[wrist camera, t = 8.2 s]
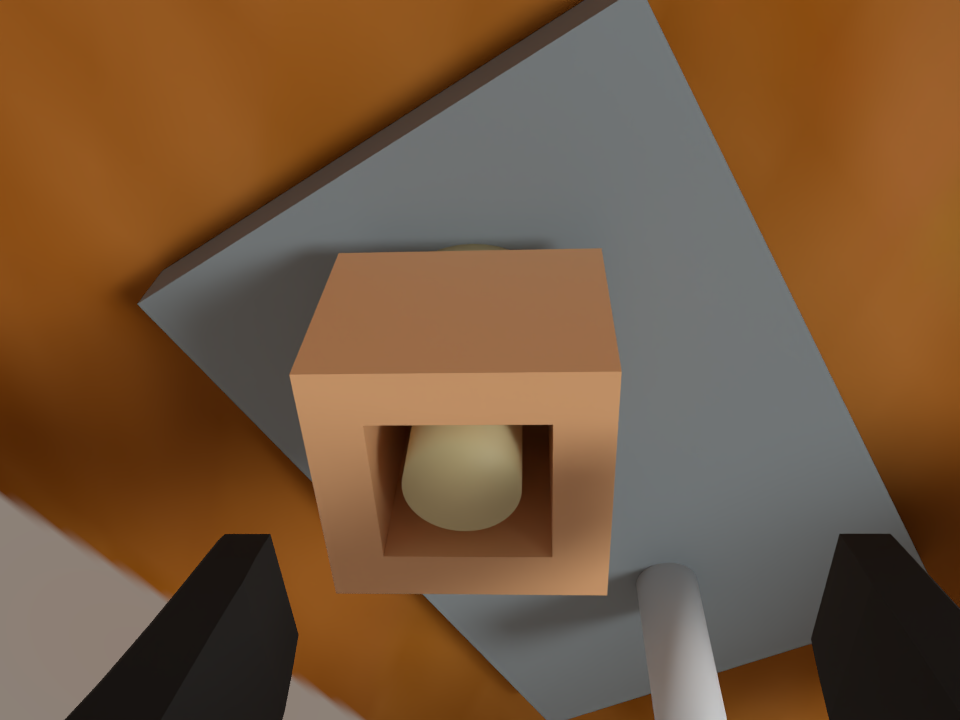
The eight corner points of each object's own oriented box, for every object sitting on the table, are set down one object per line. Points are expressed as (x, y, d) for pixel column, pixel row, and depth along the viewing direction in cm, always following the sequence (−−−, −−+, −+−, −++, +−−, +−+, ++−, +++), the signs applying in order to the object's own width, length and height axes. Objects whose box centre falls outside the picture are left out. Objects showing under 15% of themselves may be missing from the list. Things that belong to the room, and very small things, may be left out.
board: (920, 559, 23) (1037, 788, 18) (550, 682, 27) (555, 899, 22) (630, -30, 15) (688, 69, 10) (162, 271, 19) (20, 457, 14)
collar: (601, 248, 15) (621, 371, 12) (592, 450, 18) (607, 595, 15) (338, 253, 16) (288, 374, 13) (369, 451, 19) (335, 593, 15)
